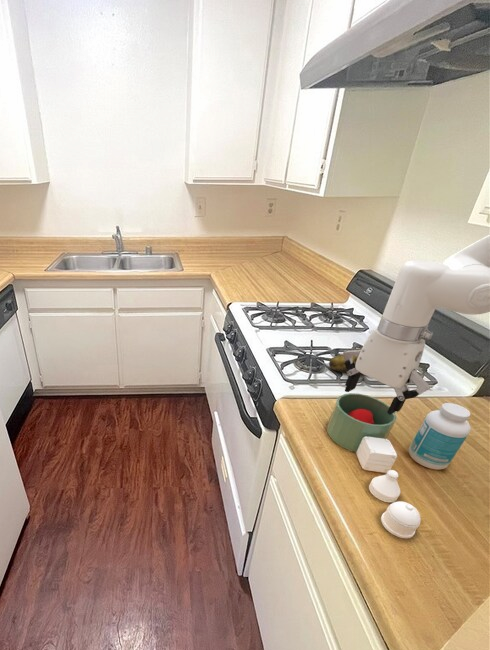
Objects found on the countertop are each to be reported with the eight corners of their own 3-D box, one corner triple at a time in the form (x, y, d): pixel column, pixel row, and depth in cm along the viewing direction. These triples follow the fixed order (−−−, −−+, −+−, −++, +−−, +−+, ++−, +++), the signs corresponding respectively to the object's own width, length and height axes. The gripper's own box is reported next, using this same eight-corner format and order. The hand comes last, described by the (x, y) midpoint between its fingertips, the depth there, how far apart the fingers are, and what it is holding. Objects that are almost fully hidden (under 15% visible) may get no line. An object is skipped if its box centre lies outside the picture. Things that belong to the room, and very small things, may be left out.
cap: (371, 448, 77) (381, 427, 74) (342, 440, 79) (350, 420, 76) (369, 427, 83) (378, 407, 80) (342, 420, 85) (350, 400, 82)
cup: (392, 440, 80) (406, 413, 76) (363, 461, 75) (377, 433, 70) (345, 413, 88) (355, 387, 84) (316, 430, 83) (325, 403, 78)
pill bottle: (455, 469, 73) (490, 419, 66) (425, 473, 72) (456, 423, 65) (427, 445, 79) (456, 397, 72) (399, 448, 78) (425, 400, 71)
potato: (328, 360, 112) (335, 337, 108) (372, 369, 108) (381, 346, 103) (326, 372, 106) (334, 348, 101) (373, 382, 101) (383, 358, 97)
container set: (354, 454, 76) (363, 435, 73) (379, 457, 76) (389, 438, 73) (386, 535, 60) (399, 515, 57) (419, 540, 59) (434, 521, 56)
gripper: (460, 341, 62) (420, 415, 72) (368, 310, 74) (344, 377, 84) (441, 351, 59) (401, 428, 68) (348, 317, 71) (325, 387, 80)
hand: (369, 400), depth 76 cm, fingers open, 9 cm apart
